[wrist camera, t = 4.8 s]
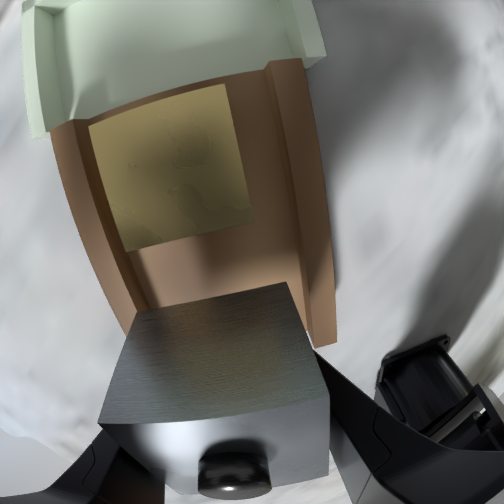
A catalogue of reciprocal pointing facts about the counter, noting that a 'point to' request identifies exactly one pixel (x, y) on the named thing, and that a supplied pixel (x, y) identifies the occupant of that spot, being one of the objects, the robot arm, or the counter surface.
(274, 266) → the slot board
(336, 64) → the counter surface
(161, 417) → the grey knob cube
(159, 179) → the tan wooden cube
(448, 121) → the counter surface
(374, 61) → the counter surface
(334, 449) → the robot arm
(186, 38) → the tray
